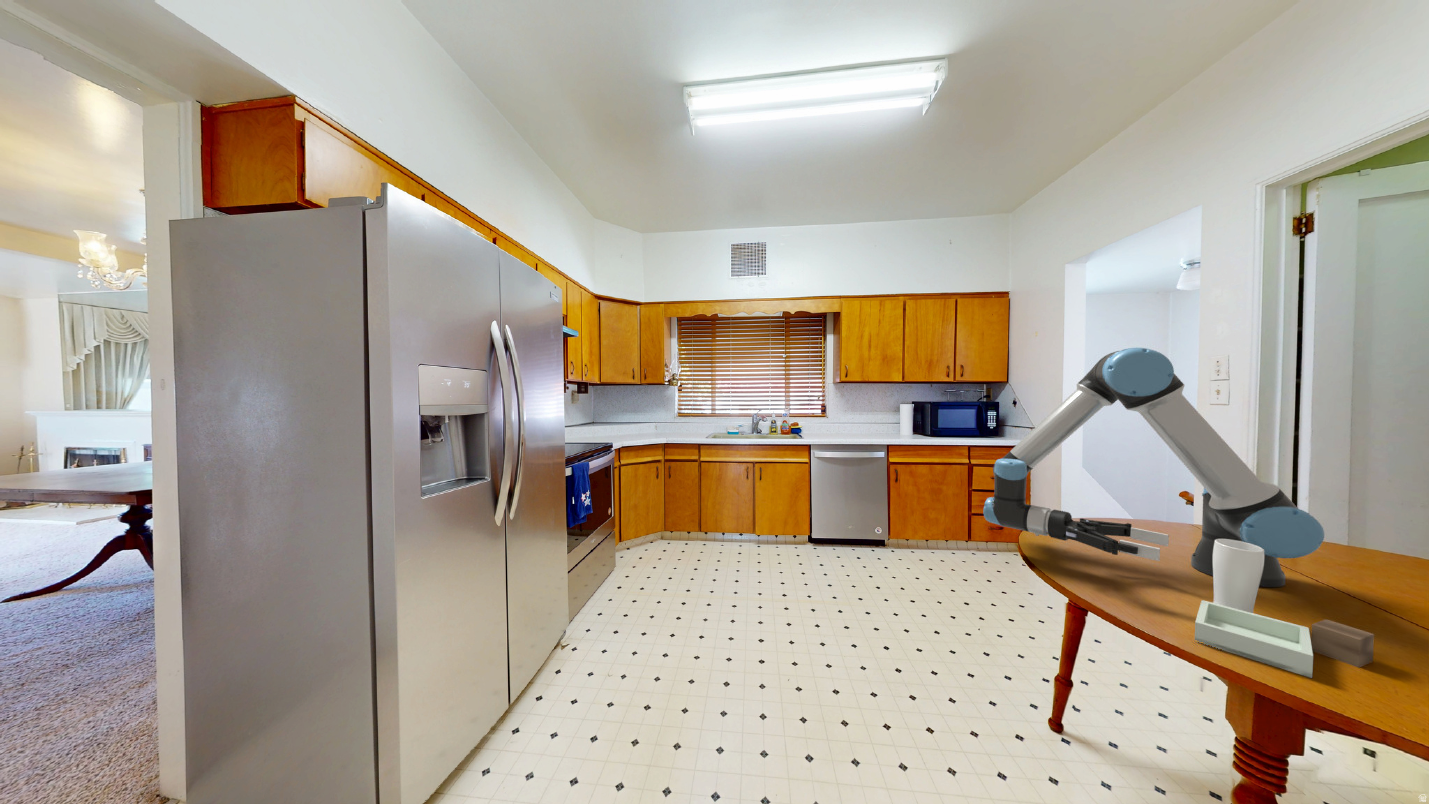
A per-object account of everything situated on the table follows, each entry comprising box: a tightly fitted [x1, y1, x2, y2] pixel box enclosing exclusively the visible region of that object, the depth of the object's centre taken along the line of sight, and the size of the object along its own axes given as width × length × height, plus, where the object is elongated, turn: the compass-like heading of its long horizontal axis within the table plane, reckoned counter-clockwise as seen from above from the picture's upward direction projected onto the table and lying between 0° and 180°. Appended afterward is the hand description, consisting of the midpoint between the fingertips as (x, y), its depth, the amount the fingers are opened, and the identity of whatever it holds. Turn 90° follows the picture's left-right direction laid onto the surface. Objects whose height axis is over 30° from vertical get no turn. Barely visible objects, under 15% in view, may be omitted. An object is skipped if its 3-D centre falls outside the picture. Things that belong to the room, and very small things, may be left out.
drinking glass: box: [1212, 539, 1265, 613], centre depth 90 cm, size 7×7×15 cm
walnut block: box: [1310, 618, 1375, 668], centre depth 76 cm, size 5×5×5 cm
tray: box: [1194, 599, 1314, 679], centre depth 80 cm, size 13×13×4 cm
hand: (1164, 547), depth 98 cm, fingers open, 13 cm apart
